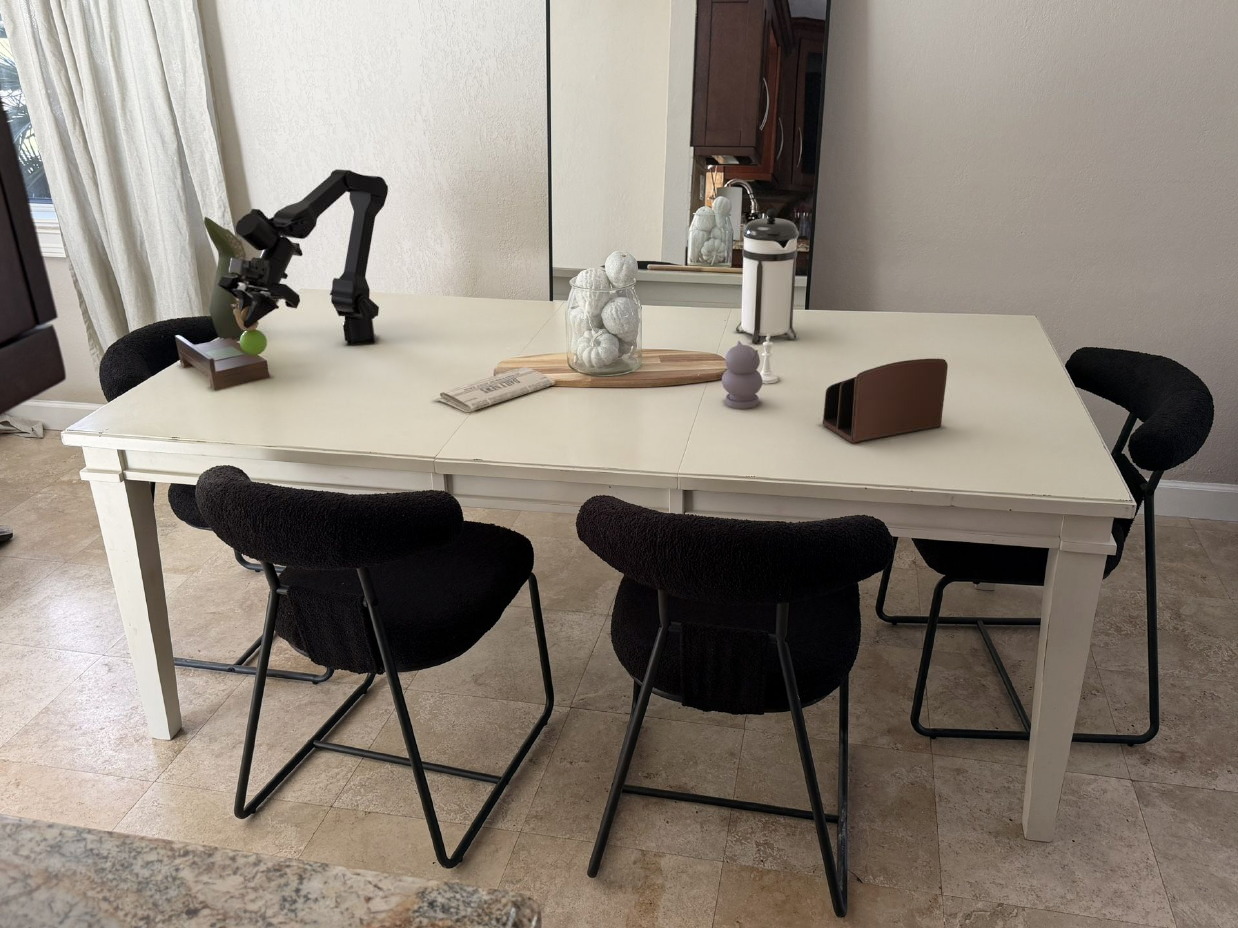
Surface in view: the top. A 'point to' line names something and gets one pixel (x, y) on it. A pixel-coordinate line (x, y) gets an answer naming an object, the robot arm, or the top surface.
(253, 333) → the snail figurine
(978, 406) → the top surface
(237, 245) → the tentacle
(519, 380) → the newspaper
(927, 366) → the letter holder
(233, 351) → the wooden display stand
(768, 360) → the chess piece
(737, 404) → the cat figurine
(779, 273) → the coffee press
